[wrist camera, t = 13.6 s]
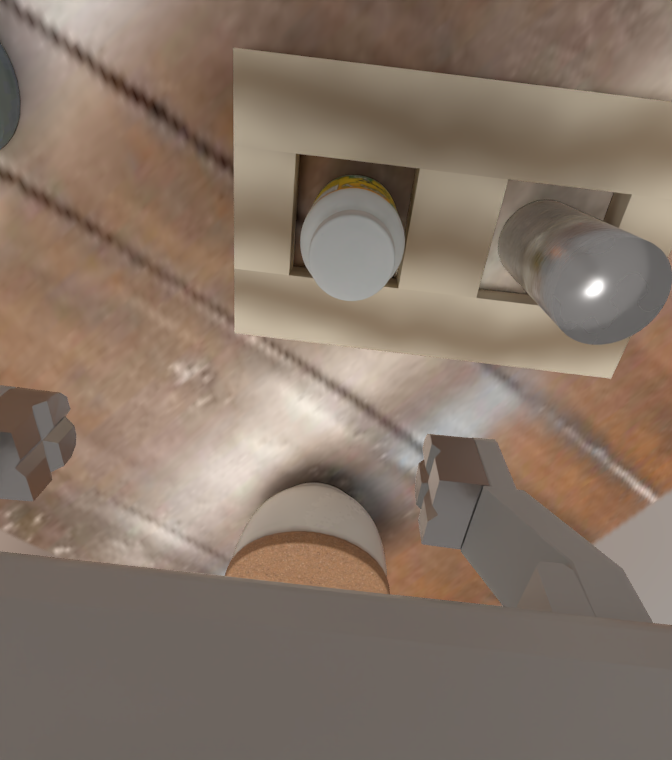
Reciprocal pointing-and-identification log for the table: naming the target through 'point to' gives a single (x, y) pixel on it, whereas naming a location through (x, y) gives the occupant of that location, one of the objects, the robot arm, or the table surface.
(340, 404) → the table surface
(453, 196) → the pin board
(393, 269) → the supplement bottle
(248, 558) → the lidded bowl
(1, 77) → the blue-grey cup
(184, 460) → the table surface
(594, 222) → the steel pin
